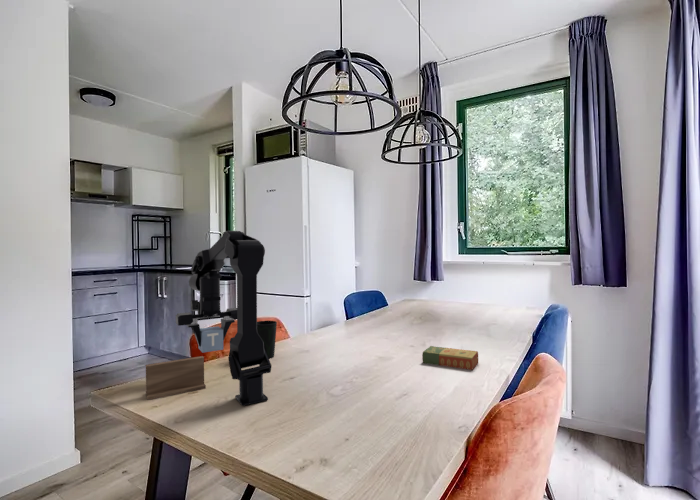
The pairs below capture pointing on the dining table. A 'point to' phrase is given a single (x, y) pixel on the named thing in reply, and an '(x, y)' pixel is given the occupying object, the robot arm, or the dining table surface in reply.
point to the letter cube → (211, 339)
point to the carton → (450, 357)
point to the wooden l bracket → (174, 377)
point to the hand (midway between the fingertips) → (210, 344)
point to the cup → (267, 336)
